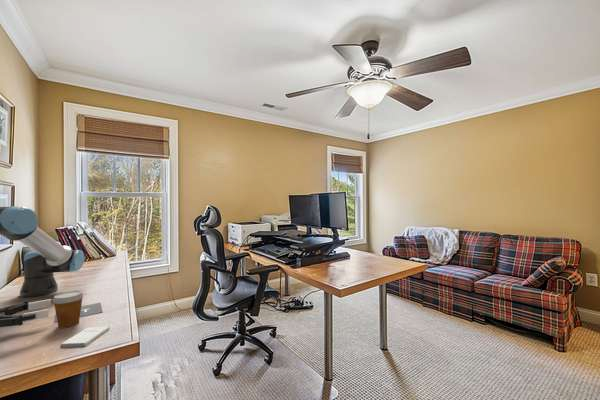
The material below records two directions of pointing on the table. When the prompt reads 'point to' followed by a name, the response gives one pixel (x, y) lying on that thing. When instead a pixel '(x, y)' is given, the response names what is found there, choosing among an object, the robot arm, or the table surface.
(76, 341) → the external hard drive
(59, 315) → the disposable coffee cup
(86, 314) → the tile
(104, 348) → the table surface
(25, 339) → the table surface
